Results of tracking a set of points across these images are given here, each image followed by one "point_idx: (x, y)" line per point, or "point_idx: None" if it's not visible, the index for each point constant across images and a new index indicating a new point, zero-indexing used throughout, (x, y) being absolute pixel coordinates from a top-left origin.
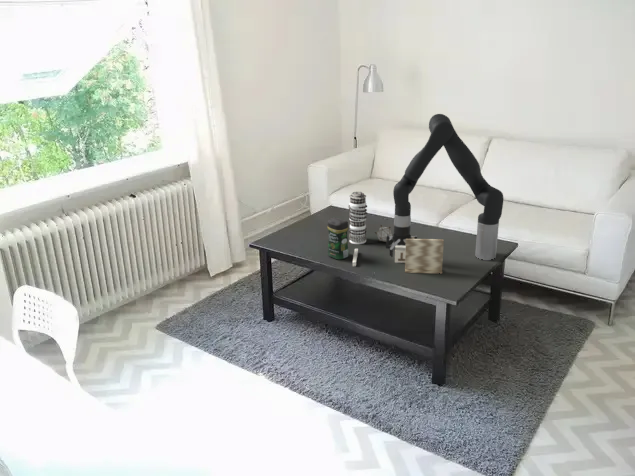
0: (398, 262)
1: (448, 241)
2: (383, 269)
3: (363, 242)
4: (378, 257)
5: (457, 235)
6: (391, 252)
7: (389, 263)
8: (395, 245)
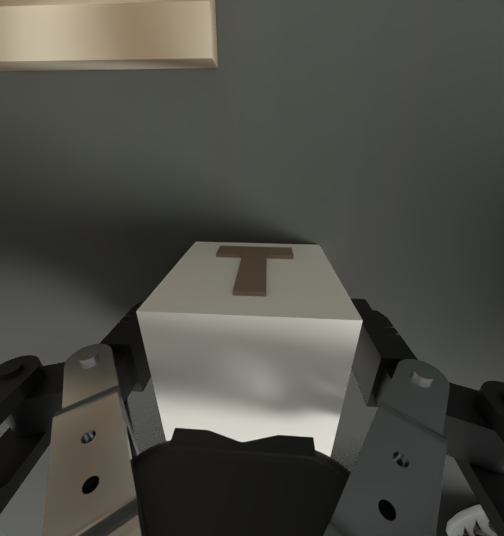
0: (284, 244)
1: (22, 494)
2: (501, 17)
3: (480, 512)
4: (446, 338)
5: (8, 529)
6: (383, 331)
7: (376, 218)
8: (380, 426)
